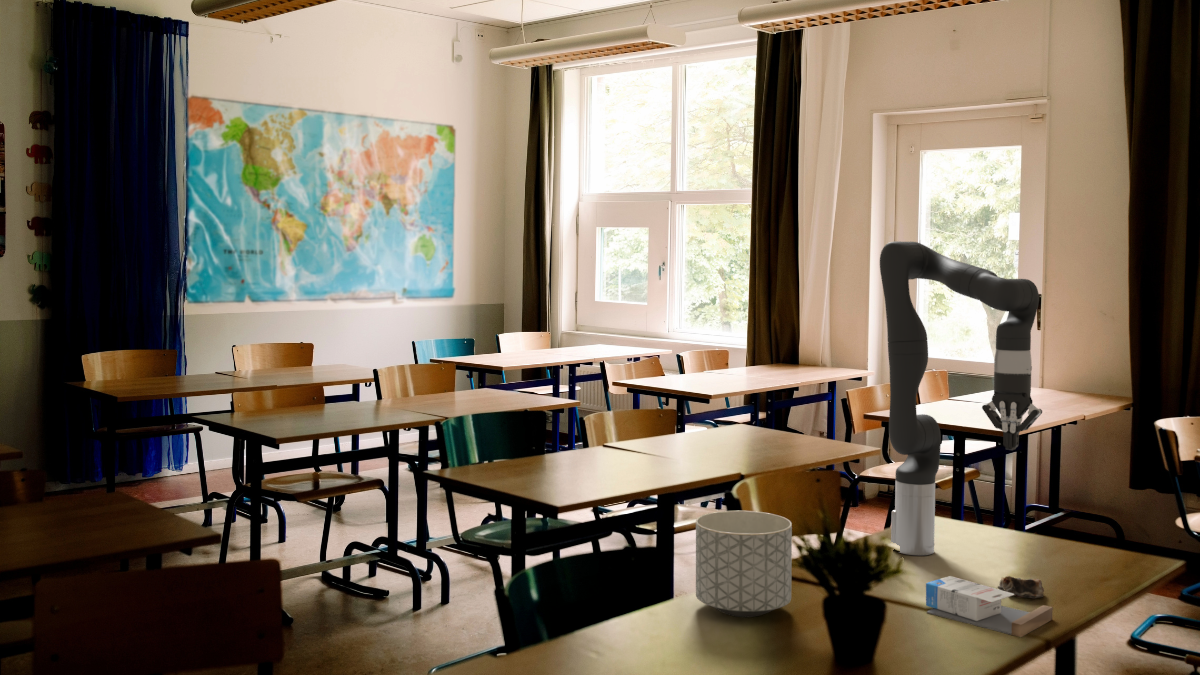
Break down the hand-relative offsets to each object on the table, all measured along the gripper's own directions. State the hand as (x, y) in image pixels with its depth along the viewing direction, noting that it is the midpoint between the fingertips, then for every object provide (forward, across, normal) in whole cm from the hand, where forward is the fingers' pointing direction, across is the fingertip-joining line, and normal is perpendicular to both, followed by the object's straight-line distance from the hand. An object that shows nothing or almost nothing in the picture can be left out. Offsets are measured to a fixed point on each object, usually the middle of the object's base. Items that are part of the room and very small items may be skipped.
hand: (1010, 449), depth 221 cm
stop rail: (+29, +16, -26) cm, 42 cm away
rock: (+29, +6, -8) cm, 31 cm away
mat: (+29, +7, -26) cm, 40 cm away
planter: (+29, -28, -58) cm, 71 cm away
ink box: (+26, -3, -26) cm, 37 cm away
